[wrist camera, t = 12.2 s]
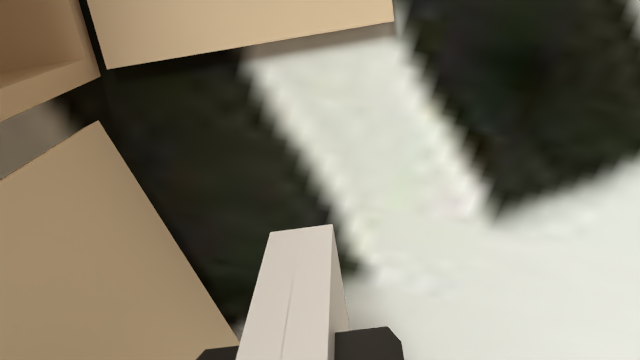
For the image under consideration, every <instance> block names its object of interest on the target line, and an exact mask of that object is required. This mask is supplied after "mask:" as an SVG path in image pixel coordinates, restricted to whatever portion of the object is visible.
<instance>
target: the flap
mask: <svg viewBox="0 0 640 360" xmlns="http://www.w3.org/2000/svg"><path fill="white" fill-rule="evenodd" d="M239 345H240V342H239V341H238V339H237V338H236V336H235V334H234V333H233V331H232V330H231V328H230V327H229V325H228V323H227V322H226V320H225V319H224V317H223V316H222V314H221V312H220V311H219V309H218V308H217V306H216V305H215V303H214V301H213V300H212V298H211V297H210V295H209V294H208V292H207V290H206V289H205V287H204V286H203V284H202V283H201V281H200V279H199V278H198V276H197V275H196V273H195V272H194V270H193V268H192V267H191V265H190V264H189V262H188V261H187V259H186V257H185V256H184V254H183V253H182V251H181V250H180V248H179V246H178V245H177V243H176V242H175V240H174V238H173V237H172V235H171V234H170V232H169V231H168V229H167V227H166V226H165V224H164V223H163V221H162V220H161V218H160V216H159V215H158V213H157V212H156V210H155V209H154V207H153V205H152V204H151V202H150V201H149V199H148V198H147V196H146V194H145V193H144V191H143V190H142V188H141V187H140V185H139V183H138V182H137V180H136V179H135V177H134V176H133V174H132V172H131V171H130V169H129V168H128V166H127V165H126V163H125V161H124V160H123V158H122V157H121V155H120V154H119V152H118V150H117V149H116V147H115V146H114V144H113V143H112V141H111V139H110V138H109V136H108V135H107V133H106V132H105V130H104V128H103V127H102V125H101V124H100V122H99V121H96V122H94V123H92V124H90V125H88V126H86V127H84V128H83V129H81V130H80V131H78V132H76V133H75V134H73V135H72V136H70V137H68V138H67V139H65V140H64V141H62V142H60V143H59V144H57V145H56V146H54V147H52V148H51V149H49V150H48V151H46V152H44V153H43V154H41V155H40V156H38V157H36V158H35V159H33V160H32V161H30V162H28V163H27V164H25V165H24V166H22V167H20V168H19V169H17V170H15V171H14V172H12V173H11V174H9V175H7V176H6V177H4V178H3V179H1V180H0V360H196V359H197V358H198V357H199V356H200V355H201V353H202V352H203V351H204V350H205V349H213V348H222V347H230V346H239Z"/></svg>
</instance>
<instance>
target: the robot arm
mask: <svg viewBox="0 0 640 360" xmlns="http://www.w3.org/2000/svg"><path fill="white" fill-rule="evenodd" d="M196 360H404V357H403V350H402V344H401V341H400V340H399V339H398V338H397V337H396V336H395V334H394V333H393V332H392V331H391V330H390V329H389V328H388V327H379V328H370V329H362V330H353V331H349V319H348V313H347V307H346V301H345V295H344V289H343V283H342V278H341V272H340V266H339V260H338V254H337V248H336V242H335V236H334V230H333V224H330V225H323V226H315V227H308V228H300V229H292V230H285V231H277V232H270V235H269V239H268V243H267V246H266V250H265V253H264V257H263V261H262V264H261V268H260V272H259V275H258V279H257V283H256V286H255V290H254V294H253V297H252V301H251V305H250V308H249V312H248V316H247V319H246V323H245V327H244V330H243V334H242V338H241V341H240V345H239V346H230V347H222V348H213V349H205V350H204V351H203V352H202V353H201V355H200V356H199V357H198V358H197V359H196Z"/></svg>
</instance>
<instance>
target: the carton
mask: <svg viewBox="0 0 640 360" xmlns="http://www.w3.org/2000/svg"><path fill="white" fill-rule="evenodd" d="M87 3H88V6H89V9H90V13H91V16H92V20H93V23H94V27H95V30H96V34H97V37H98V41H99V44H100V47H101V51H102V54H103V58H104V61H105V65H106V68H107V69H113V68H119V67H124V66H130V65H136V64H142V63H148V62H154V61H160V60H166V59H172V58H178V57H184V56H190V55H196V54H202V53H208V52H214V51H220V50H226V49H232V48H238V47H244V46H250V45H256V44H262V43H267V42H273V41H279V40H285V39H291V38H297V37H303V36H309V35H315V34H321V33H327V32H333V31H339V30H345V29H351V28H357V27H363V26H369V25H375V24H381V23H387V22H393V21H394V14H393V5H392V0H87ZM100 76H101V75H100V72H99V68H98V65H97V62H96V58H95V55H94V51H93V48H92V45H91V41H90V38H89V34H88V31H87V28H86V24H85V21H84V17H83V14H82V11H81V7H80V4H79V0H0V122H1V121H3V120H6V119H8V118H10V117H12V116H14V115H17V114H19V113H21V112H23V111H25V110H28V109H30V108H32V107H34V106H37V105H39V104H41V103H43V102H45V101H48V100H50V99H52V98H54V97H56V96H59V95H61V94H63V93H65V92H67V91H70V90H72V89H74V88H76V87H78V86H81V85H83V84H85V83H87V82H89V81H92V80H94V79H96V78H98V77H100Z"/></svg>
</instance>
